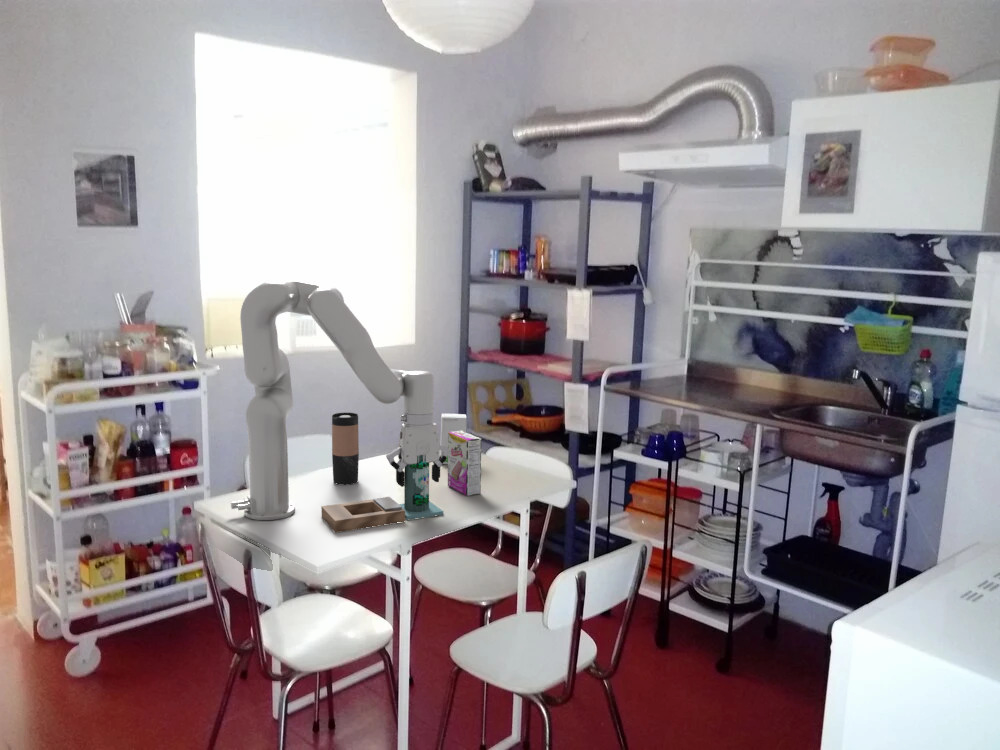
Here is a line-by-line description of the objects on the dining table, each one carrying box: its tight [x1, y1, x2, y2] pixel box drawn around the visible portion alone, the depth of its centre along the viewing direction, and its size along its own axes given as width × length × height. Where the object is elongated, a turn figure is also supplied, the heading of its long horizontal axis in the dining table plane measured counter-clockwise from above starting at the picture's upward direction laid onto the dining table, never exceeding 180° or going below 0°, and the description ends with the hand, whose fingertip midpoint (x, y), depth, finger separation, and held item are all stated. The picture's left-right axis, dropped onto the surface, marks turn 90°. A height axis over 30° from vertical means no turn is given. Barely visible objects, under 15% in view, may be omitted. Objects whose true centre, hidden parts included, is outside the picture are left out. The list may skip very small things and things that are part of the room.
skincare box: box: [439, 413, 468, 465], centre depth 254 cm, size 8×7×16 cm
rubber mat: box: [398, 500, 444, 521], centre depth 206 cm, size 10×10×1 cm
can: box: [403, 455, 430, 512], centre depth 205 cm, size 6×6×15 cm
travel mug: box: [331, 412, 360, 486], centre depth 230 cm, size 8×8×20 cm
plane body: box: [320, 496, 406, 533], centre depth 199 cm, size 18×12×4 cm, turn 118°
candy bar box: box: [447, 430, 482, 497], centre depth 224 cm, size 11×5×16 cm, turn 34°
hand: (418, 483), depth 205 cm, fingers open, 9 cm apart
